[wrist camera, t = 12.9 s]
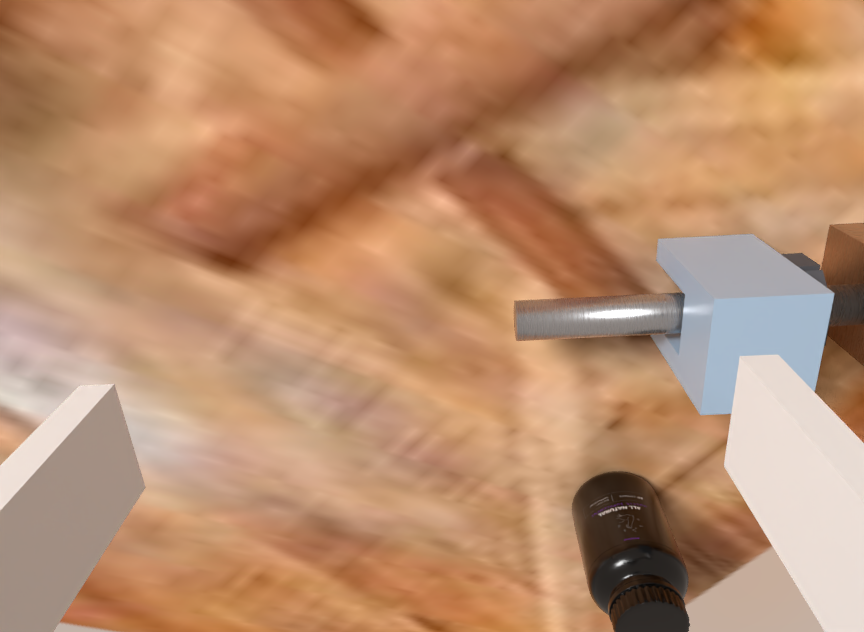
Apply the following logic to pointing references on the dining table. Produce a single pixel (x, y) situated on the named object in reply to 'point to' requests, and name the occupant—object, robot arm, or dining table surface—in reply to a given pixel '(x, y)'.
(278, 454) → the dining table surface
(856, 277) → the pipe rig
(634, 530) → the supplement bottle
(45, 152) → the dining table surface
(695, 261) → the sleeve
